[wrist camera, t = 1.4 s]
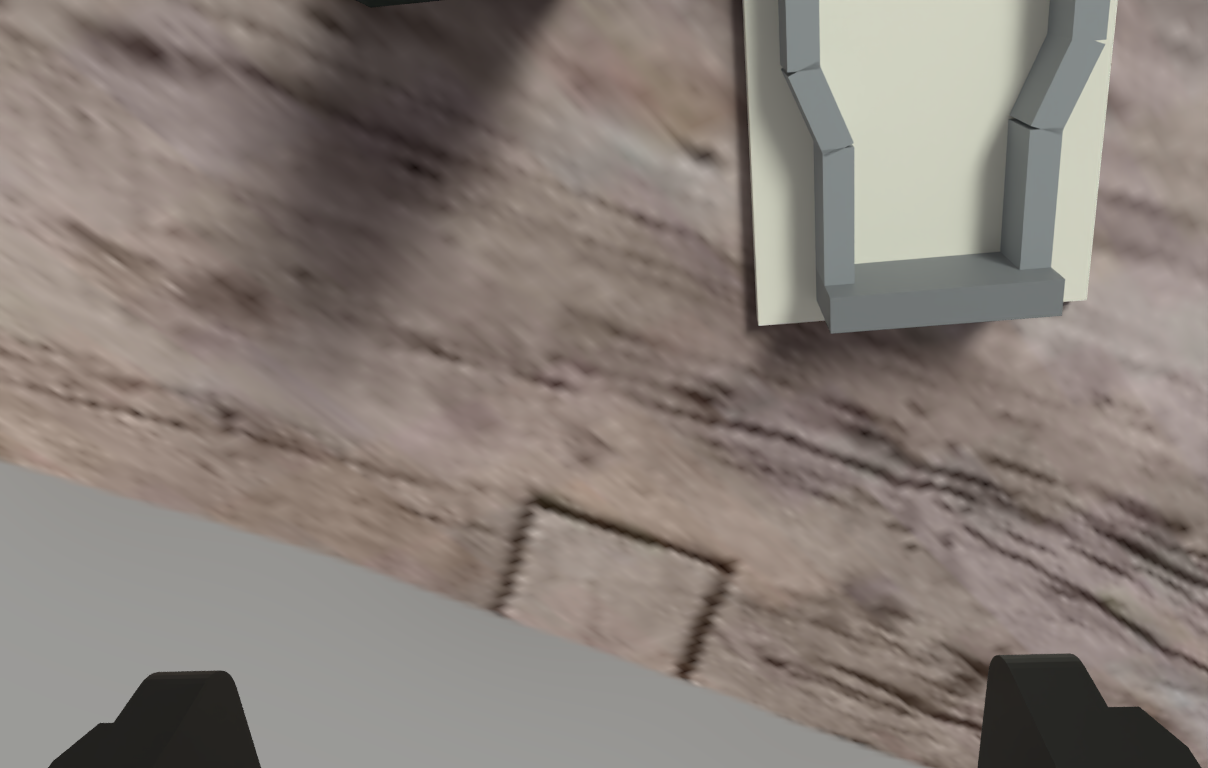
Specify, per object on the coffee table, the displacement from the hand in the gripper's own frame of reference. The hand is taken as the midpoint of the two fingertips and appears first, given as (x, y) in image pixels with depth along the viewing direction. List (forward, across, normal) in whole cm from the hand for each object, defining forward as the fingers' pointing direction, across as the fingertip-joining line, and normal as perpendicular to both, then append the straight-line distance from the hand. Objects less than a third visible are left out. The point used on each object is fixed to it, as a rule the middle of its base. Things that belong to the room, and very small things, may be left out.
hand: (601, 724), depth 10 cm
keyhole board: (+34, -11, -3) cm, 35 cm away
